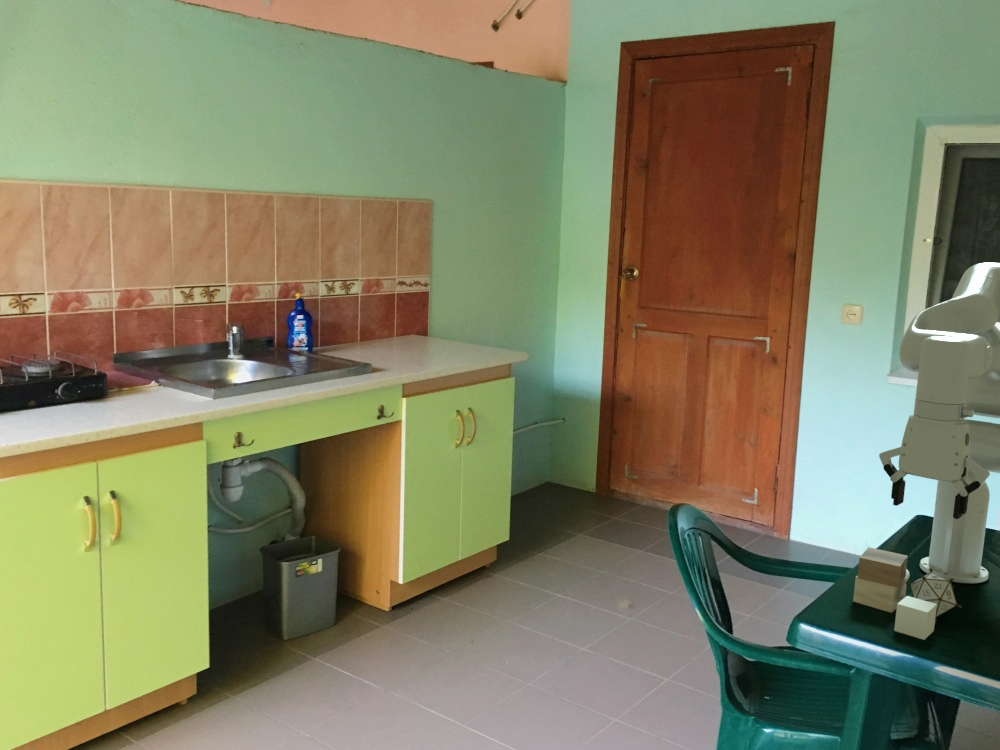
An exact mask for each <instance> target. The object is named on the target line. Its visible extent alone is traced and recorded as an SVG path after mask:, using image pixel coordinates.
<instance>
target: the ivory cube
mask: <svg viewBox="0 0 1000 750" xmlns="http://www.w3.org/2000/svg"><path fill="white" fill-rule="evenodd" d="M936 608H937V604H935V603H931V602H928V601H924V600H921V599H917V598H913V596H910V595H906V596H905V598H904V599H902V600H901V601H900V602H899V603H898V604H897V609H895V620H894V621H895V622H894V632H897V633H900V634H905V635H907V636H911V637H914V638H917V639H919V640H923V641H924V640H926V639H927V638H928V637H929V636H930V635H931V634H933V633H934V631H935V625H936V622H935V616H936Z"/></svg>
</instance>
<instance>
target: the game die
mask: <svg viewBox="0 0 1000 750" xmlns="http://www.w3.org/2000/svg"><path fill="white" fill-rule="evenodd" d="M932 570H933V569H932V568H930V569H929V571H930V573H926V574H925V575H922V576H921V577H920V578H918V579H916V580H914V581H912V582H911V583H910V582H909V581H907V582H905V583H906V585H907V586H909V587H910V590H911V591H910V592H911V594H912V597H913V598H917V599H921V600H924V601H928V602H931V603H935V604H937V608H936V616H935V623H937V621H938V619H937V617H939V616H941V615H942V614H945V613H946V612H948V611H950V610H952V609H954V608H955V607H957V608H962V605H961V604H958V603H957V598H956V597H955V596H956V595H955V592H954V589H955V586H954V585H952V581H953V579H954V578H951V579H950V580H947V579H945V578H943V577H941V576H939V575H937V574H934V573H932Z"/></svg>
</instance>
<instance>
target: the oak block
mask: <svg viewBox="0 0 1000 750" xmlns="http://www.w3.org/2000/svg"><path fill="white" fill-rule="evenodd" d="M857 577H858V574H857V575H856V576H855V581H854V588H853V589H854V590H853V599H852V602H855V603H857V604H861V605H864V606H868V607H870V608H871V607H872V608H874V609H876V610H877V609H878V610H881V611H883V612H884V611H885V612H888V613H891V614H892V613H894V611H896V610H897V604H898V603H899V602H900V601H901V600H902V599H904V598H905V597H906V596H907V595H906V593H907V586H908V585H906V583H905V582H908V580H907V578H908V577H905V578H904V579H903V581H902V582H901V584H900V585H899V587H898V588H897V587H893V586H888V585H884V584H880V583H876V582H871V581H867V580H863V579H858V578H857Z"/></svg>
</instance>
